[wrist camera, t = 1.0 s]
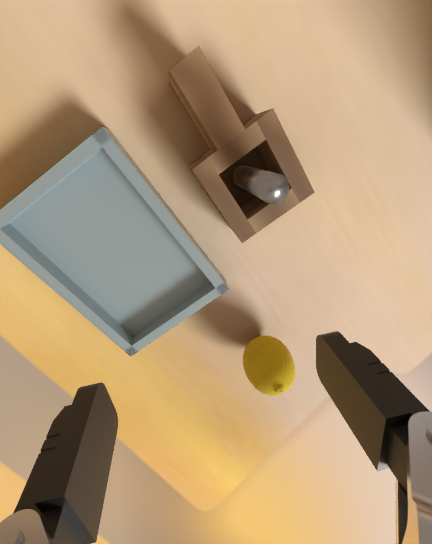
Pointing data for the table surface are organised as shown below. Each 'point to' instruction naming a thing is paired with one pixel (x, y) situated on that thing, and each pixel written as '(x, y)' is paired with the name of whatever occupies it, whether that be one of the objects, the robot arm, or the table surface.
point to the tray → (110, 244)
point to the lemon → (269, 365)
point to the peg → (262, 183)
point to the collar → (235, 146)
